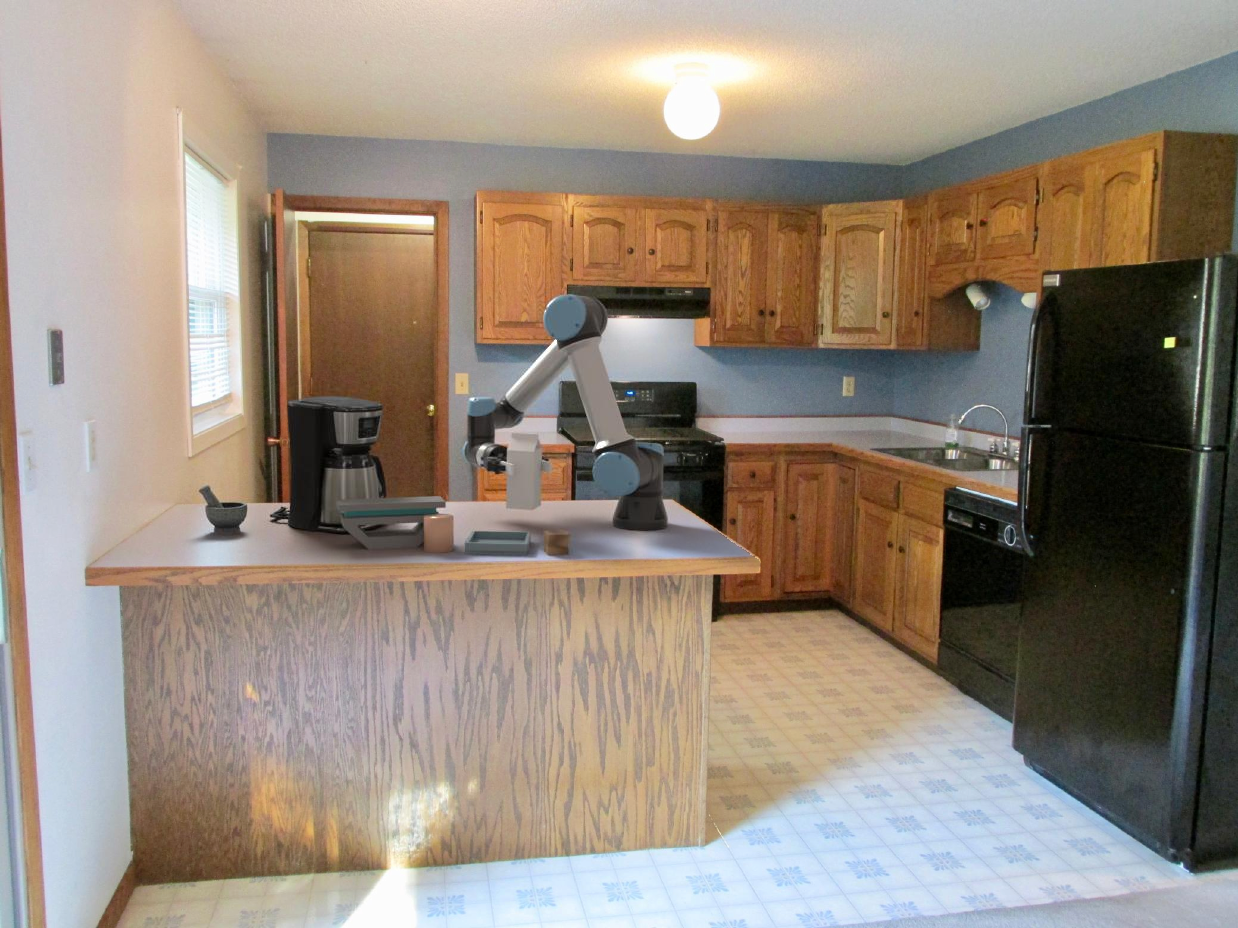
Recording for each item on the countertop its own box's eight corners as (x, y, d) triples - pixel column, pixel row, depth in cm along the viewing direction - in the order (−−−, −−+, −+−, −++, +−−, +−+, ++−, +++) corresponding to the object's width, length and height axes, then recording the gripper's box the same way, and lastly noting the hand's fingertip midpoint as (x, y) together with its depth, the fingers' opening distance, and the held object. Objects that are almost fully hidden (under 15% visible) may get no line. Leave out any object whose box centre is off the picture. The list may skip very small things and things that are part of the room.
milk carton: (533, 510, 248) (534, 435, 246) (506, 508, 250) (507, 434, 247) (541, 506, 255) (542, 432, 253) (514, 504, 257) (515, 431, 254)
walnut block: (563, 550, 239) (564, 529, 238) (568, 554, 234) (569, 534, 233) (543, 551, 237) (543, 530, 237) (548, 555, 233) (548, 534, 232)
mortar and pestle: (249, 527, 255) (248, 481, 253) (245, 535, 246) (244, 487, 244) (202, 529, 252) (201, 482, 250) (197, 536, 243) (195, 488, 241)
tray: (530, 541, 247) (530, 531, 246) (527, 554, 232) (527, 544, 232) (471, 540, 246) (472, 530, 246) (464, 553, 232) (464, 542, 231)
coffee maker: (370, 536, 249) (369, 402, 244) (245, 531, 251) (242, 398, 246) (396, 519, 271) (395, 396, 267) (281, 515, 273) (279, 393, 269)
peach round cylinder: (456, 546, 239) (456, 513, 238) (450, 553, 232) (450, 519, 231) (427, 545, 239) (427, 513, 238) (420, 552, 232) (420, 519, 231)
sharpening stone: (439, 538, 248) (439, 496, 246) (445, 545, 240) (445, 501, 239) (336, 543, 239) (335, 499, 238) (339, 550, 232) (338, 505, 230)
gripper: (532, 469, 272) (571, 481, 254) (456, 473, 261) (490, 486, 242) (533, 442, 271) (571, 452, 253) (456, 445, 260) (490, 455, 241)
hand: (531, 468), depth 247 cm, fingers closed on milk carton, 10 cm apart
